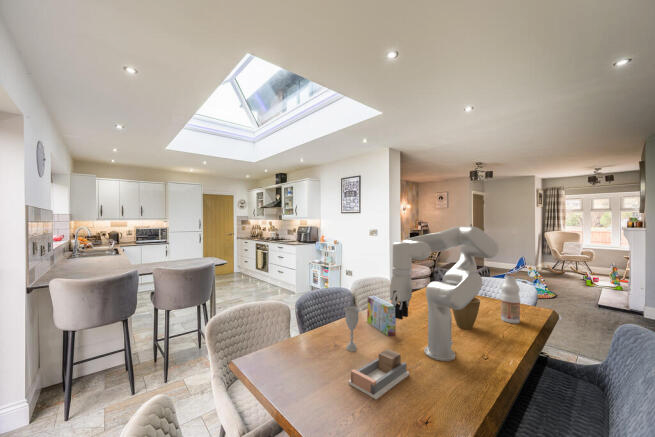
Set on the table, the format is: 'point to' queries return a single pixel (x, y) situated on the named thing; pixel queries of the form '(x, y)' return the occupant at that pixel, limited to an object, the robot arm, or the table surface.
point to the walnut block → (389, 360)
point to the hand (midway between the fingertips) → (401, 317)
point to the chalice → (351, 324)
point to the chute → (377, 378)
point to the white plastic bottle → (510, 300)
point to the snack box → (381, 315)
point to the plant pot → (467, 314)
